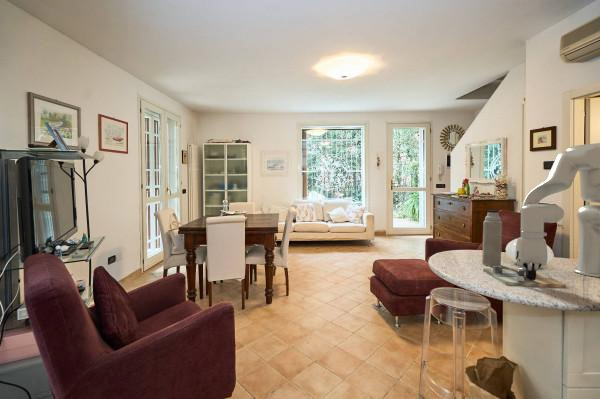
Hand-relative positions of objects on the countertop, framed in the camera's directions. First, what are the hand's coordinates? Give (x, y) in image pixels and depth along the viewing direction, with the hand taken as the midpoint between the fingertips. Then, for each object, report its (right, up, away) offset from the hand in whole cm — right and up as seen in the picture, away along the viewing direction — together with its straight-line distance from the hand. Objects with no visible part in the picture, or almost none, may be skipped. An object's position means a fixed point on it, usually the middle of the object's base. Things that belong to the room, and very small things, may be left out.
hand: (530, 279), depth 123 cm
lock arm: (-1, 0, +3) cm, 4 cm away
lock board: (+1, -2, +7) cm, 7 cm away
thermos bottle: (+2, -1, +29) cm, 29 cm away
